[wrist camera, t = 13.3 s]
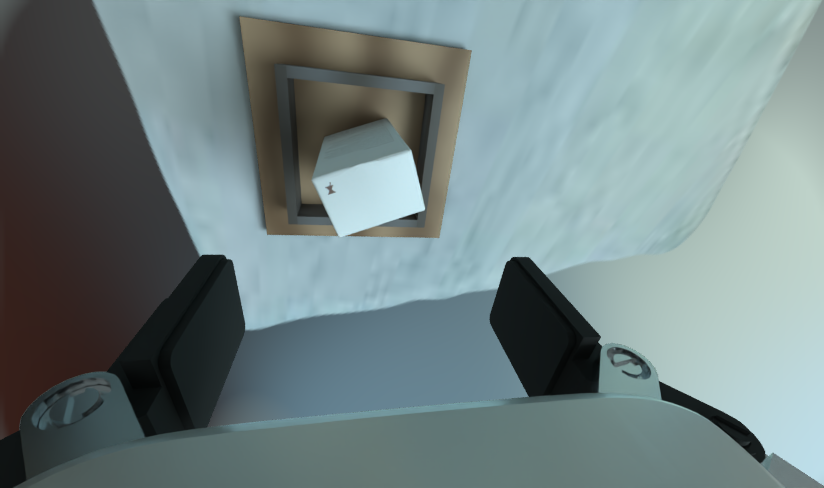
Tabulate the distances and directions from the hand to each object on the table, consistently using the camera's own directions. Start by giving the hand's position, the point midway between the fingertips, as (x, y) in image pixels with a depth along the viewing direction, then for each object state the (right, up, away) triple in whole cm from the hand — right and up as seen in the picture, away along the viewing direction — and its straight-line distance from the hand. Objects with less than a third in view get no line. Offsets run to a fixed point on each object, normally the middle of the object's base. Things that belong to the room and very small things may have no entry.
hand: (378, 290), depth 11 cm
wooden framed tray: (-4, +11, +19) cm, 22 cm away
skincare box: (-3, +11, +18) cm, 21 cm away
